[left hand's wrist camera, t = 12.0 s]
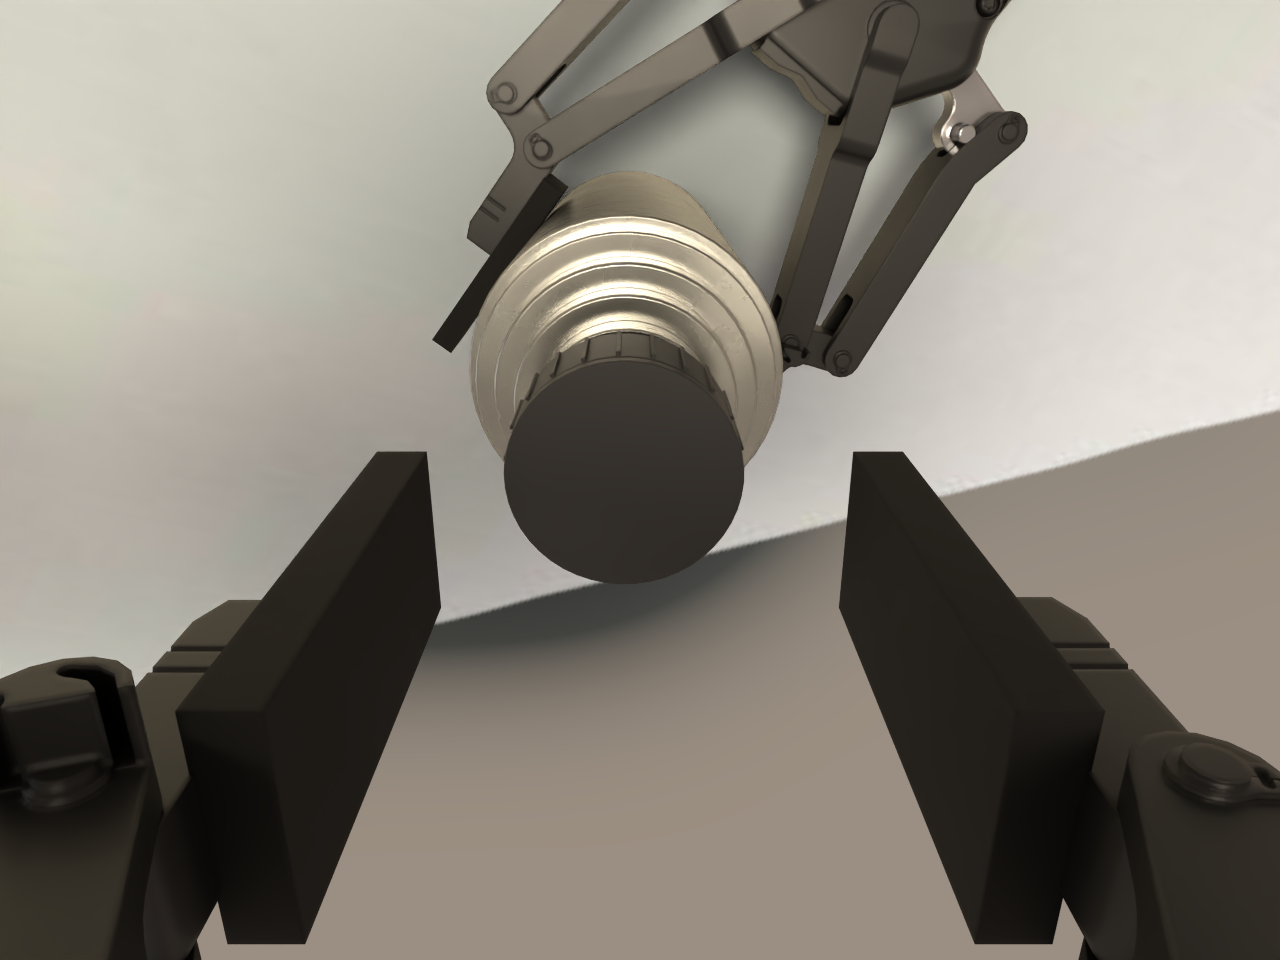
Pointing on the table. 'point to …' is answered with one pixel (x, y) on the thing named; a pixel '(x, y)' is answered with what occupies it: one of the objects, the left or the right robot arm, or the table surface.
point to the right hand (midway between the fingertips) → (548, 406)
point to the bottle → (627, 300)
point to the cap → (624, 460)
